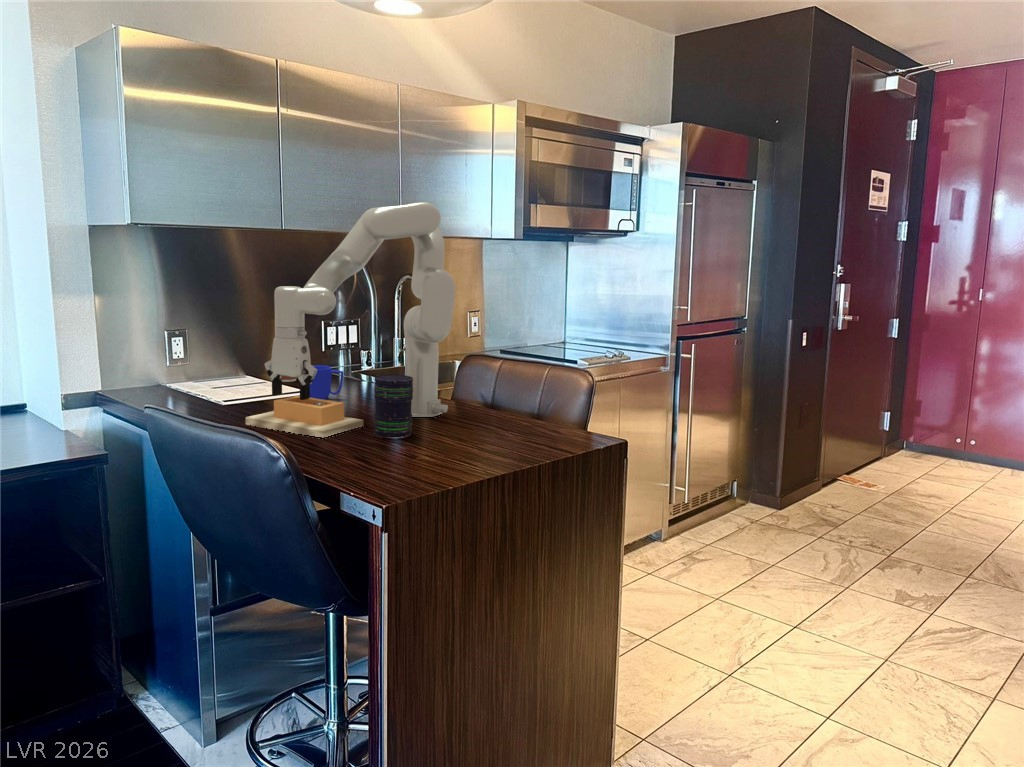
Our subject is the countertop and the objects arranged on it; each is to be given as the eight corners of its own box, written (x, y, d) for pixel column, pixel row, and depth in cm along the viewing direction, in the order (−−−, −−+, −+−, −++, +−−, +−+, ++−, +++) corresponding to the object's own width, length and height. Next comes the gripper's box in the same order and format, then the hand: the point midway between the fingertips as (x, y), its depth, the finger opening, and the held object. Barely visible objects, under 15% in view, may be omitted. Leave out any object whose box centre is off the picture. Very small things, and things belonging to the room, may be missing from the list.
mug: (339, 402, 232) (340, 370, 230) (300, 400, 232) (300, 368, 231) (346, 397, 240) (346, 366, 239) (308, 395, 240) (308, 364, 239)
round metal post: (325, 419, 199) (325, 403, 199) (319, 421, 197) (319, 404, 197) (318, 418, 201) (318, 401, 200) (312, 420, 198) (312, 403, 198)
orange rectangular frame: (344, 419, 201) (344, 402, 200) (321, 425, 193) (321, 408, 192) (297, 411, 208) (297, 395, 207) (273, 417, 200) (273, 400, 199)
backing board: (363, 427, 202) (363, 420, 201) (323, 439, 187) (323, 431, 187) (288, 414, 213) (288, 407, 213) (245, 424, 199) (245, 417, 198)
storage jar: (370, 431, 198) (371, 374, 195) (407, 429, 201) (408, 374, 199) (377, 440, 189) (378, 381, 186) (416, 438, 192) (417, 380, 190)
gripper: (325, 334, 199) (325, 398, 202) (275, 329, 207) (276, 391, 210) (305, 337, 193) (306, 403, 195) (254, 331, 200) (256, 395, 203)
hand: (290, 397), depth 203 cm, fingers open, 9 cm apart
